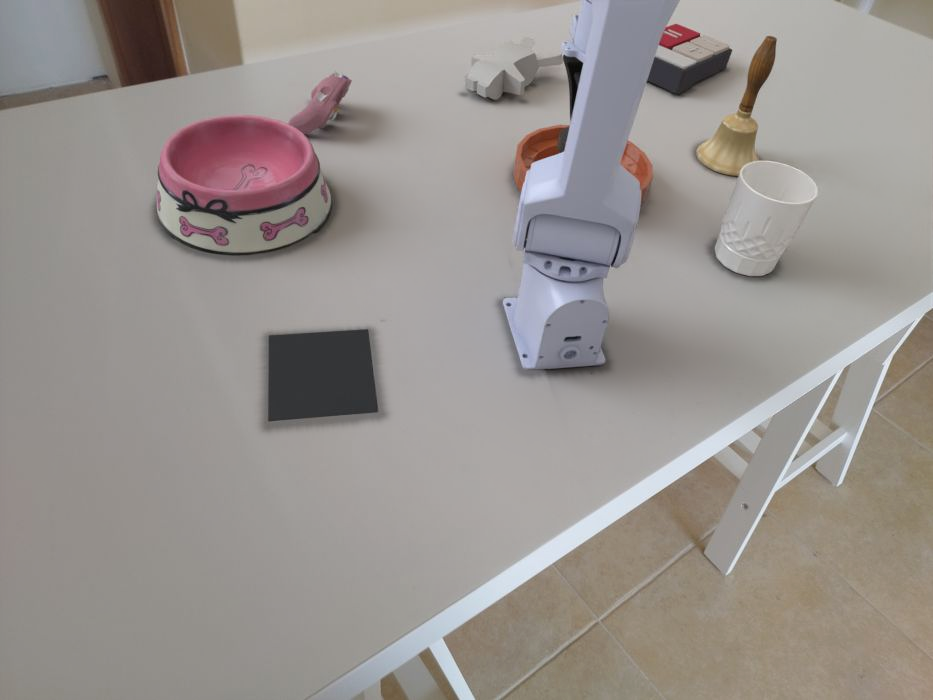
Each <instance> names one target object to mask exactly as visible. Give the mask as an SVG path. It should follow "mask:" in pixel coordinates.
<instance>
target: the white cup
mask: <svg viewBox="0 0 933 700" xmlns="http://www.w3.org/2000/svg"><path fill="white" fill-rule="evenodd" d="M818 195H819V188H818V185H817V183H816V182H815V180H813V179H812V177H811V176H810V175H808V174H807V173H805V172H804V171H802V170H801V169H799V168H797V167H794V166H792V165H789V164H788V163H787V164H786V163H783V162H781V161H780V162H779V161H774V160H763V159H762V160H759V161H753V162H750V163H747V164H745V165H744V166H743V167H742V168H741V170H740V173H739V176H737V179H736V181H735V184H734V187H733V190H732V193H731V196H730V198H729V201H728V203H727V207H726V211H725V213H724V216H723V219H722V222H721V226H720V231H719V234H718V237H717V239H716V242H715V245H714V248H713V250H714V255H715V257H716V259H717V260H718V261H719V262H720V263H721V264H722V266H724V267H725V268H726V269H729V270H730V271H732V272H734V273H736V274H739V275H743V276H747V277H763V276H765V275H767V274H770V273H771V272H773V270H774V269H775V267H776V265H777V264H778V262H779V260H780V258H781V257H782V255H783V253H784V252H785V251H786V250H787V248H788V247H789V245H790V244H791V242H792V240H793V239H794V237H795V235H796V234H797V232H798V230H799V229H800V227H801V225H802V224H803V222H804V220H805V218H806V217H807V214H808V213H809V211H810V209H811V208H812V206H813V204H814V203H815V201H816V199H817V197H818Z"/></svg>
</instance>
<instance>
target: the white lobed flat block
mask: <svg viewBox="0 0 933 700" xmlns="http://www.w3.org/2000/svg"><path fill="white" fill-rule="evenodd" d="M535 45H536V40H535V39H534V38H532V37H529V36H526V37H523V38H522V39H521V41H520V42H519V43H517V42H514V41H511V40H508V41H505V42H503V43H501V44H500V45H499V46H497V47H496V49H495V51H494V53H475V54H473V55H472V56H471V69H470V70H469V72H468V74H467V75H466V76H465V77H464V87H465V88H466V89H468V90H470V91H472V92H476V94H477V95H479V96H481V97H482V98H486V99H487V98H489V99H491V100H496V101H497V100H499V99H500V98H501V97H502V95H503V93H508V94H513V95H518V96H521V95H525V88H526V87H527V86H529V85H530V84H531V83H532V82H533V81H534V79H535V77H536V75H537V74H538V71H539V69H540V68H542V67H553V66H560V65H563V63H564V61H563V52H562V51H560V50H550V51H546V52H542V53H539V54H536V53H535V52H534V51H533V50H532V49H533V47H535Z"/></svg>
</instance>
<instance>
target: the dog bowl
mask: <svg viewBox="0 0 933 700" xmlns="http://www.w3.org/2000/svg"><path fill="white" fill-rule="evenodd" d="M322 171H323V170H322V168H321V163H320V159H319V157H318V156H317V153H316V151H315V149H314V147H313V145H312V143H311V140H310V139H309V138H308V137H307V136H306V134H303V133H302V132H301V131H299V130H298V129H296V128H295V127H293V126H291V125H289V124H288V123H287V122H284V121H282V120H279V119H275V118H271V117H266V116H260V115H249V114H232V115H231V114H230V115H221V116H215V117H209V118H205V119H202V120H198V121H195V122H192V123H189V124H188V125H185V126H184V127H182V128H180V129H179V130H177V131H176V132H174V133H173V134H172V135H170V137H169V138H168V139H167V141H166V142H165V143H164V145H163V146H162V149H161V153H160V157H159V163H158V166H157V176H158V177H157V188H156V216H157V220H158V222H159V224H160V225H161V227H162V229H163V231H165V232H166V233H167V234H168V235H169V236H170V237H171V238H172V239H173V240H175V241H177V242H178V243H181V244H182V245H184V246H186V247H188V248H191V249H194V250H197V251H200V252H203V253H208V254H212V255H213V254H214V255H221V256H252V255H259V254H266V253H271V252H275V251H279V250H283V249H287V248H289V247H291V246H293V245H296V244H297V243H300V242H302V241H304V240H305V239H307V238H309V237H310V236H312V235H313V234H317V232H318V231H320V229H321V228H322V227H323V226H324V225H325V223H326V222H327V221H328V219H329V217H330V215H331V212H332V210H333V209H332V208H333V196H332V194H331V193H332V192H331V190H330V188H329V186H328V184H327V182H326V179H325V176H324V174H323V172H322Z"/></svg>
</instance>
